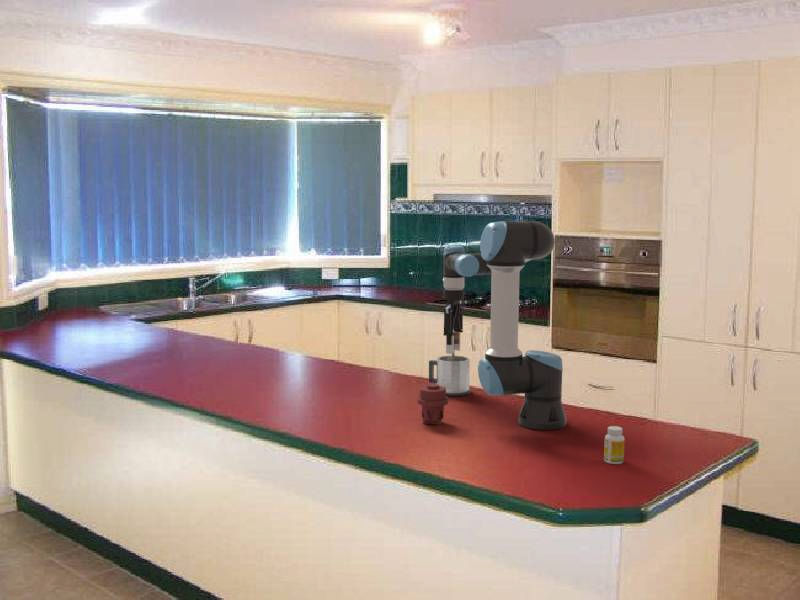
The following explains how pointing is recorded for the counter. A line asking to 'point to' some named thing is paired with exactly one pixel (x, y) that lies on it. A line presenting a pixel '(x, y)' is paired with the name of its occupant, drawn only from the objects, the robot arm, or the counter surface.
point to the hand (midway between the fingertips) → (453, 351)
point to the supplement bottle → (614, 445)
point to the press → (451, 374)
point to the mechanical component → (432, 403)
